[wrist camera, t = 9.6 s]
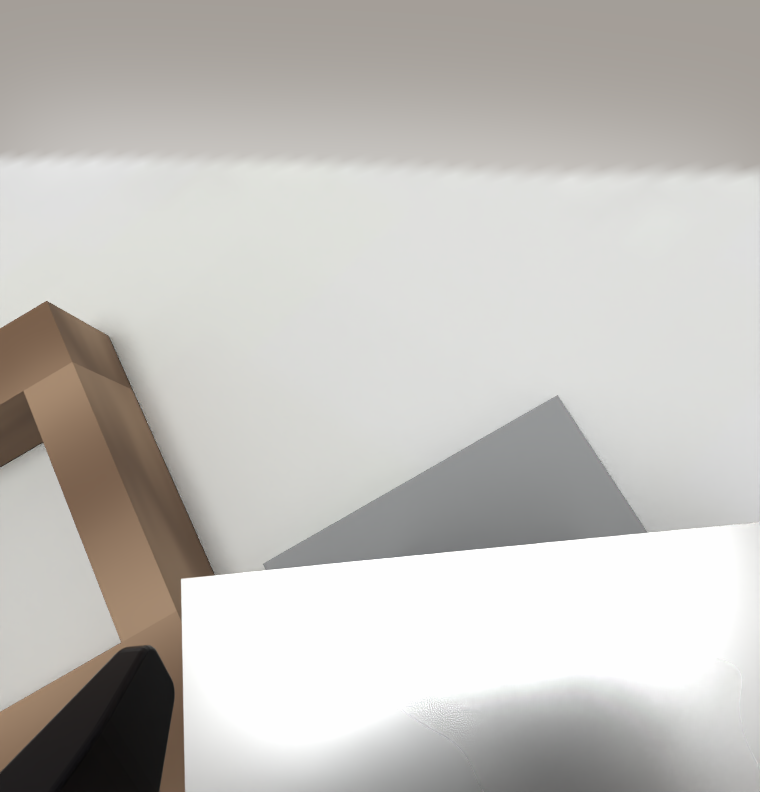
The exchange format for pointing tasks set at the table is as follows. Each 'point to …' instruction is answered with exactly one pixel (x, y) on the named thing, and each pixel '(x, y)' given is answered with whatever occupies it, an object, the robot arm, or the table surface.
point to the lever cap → (482, 670)
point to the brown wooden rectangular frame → (99, 504)
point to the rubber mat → (485, 500)
